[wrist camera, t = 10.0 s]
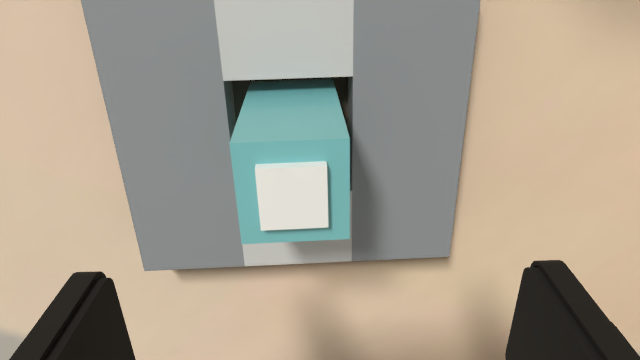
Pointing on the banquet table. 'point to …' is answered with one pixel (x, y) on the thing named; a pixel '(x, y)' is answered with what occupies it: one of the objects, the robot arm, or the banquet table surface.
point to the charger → (291, 163)
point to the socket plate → (285, 63)
